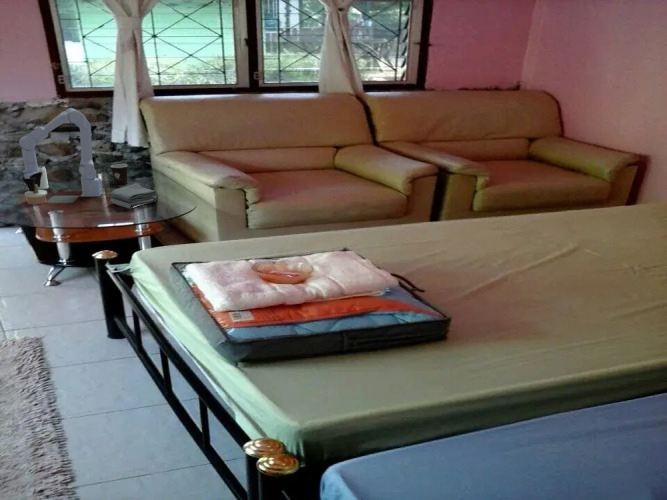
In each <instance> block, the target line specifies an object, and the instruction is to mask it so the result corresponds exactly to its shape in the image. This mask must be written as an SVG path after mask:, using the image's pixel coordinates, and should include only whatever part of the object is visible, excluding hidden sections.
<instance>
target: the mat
mask: <svg viewBox="0 0 667 500" xmlns="http://www.w3.org/2000/svg"><path fill="white" fill-rule="evenodd" d="M79 197H80V195H52V196H51V197H50V198H49V199H48V200H46V202H45V204H73V203H74V202H75V201H76V200H77V199H79Z"/></svg>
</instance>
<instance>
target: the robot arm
mask: <svg viewBox="0 0 667 500" xmlns="http://www.w3.org/2000/svg"><path fill="white" fill-rule="evenodd" d="M71 123H73V125H74V124H75V125H76V126H77V127H78V128H79V131H80V132H79V137H80V139H79V140H80V158H81V159H80V161H79V162H80V163H79V166H78V173H79V174H80V175H81V176H80V182H81V188H82V189H81V190H82V194H80V197H100V196H101V195H102V194H103V193H104V191H103V182H102V179H101V178H100V177H97V170H96V168H95V164H94V161H93V149H92V146H93V145H92V126H91V123H90V122H89V121H88V119H87V117H86V116H85V114H84V113H82V112H81V111H79V110H76V109H75V108H73V107H69V108H67V109H65V110H63V111H62V112H61V113H59V114H58V115H57V116H55V117H54V118H52V120H50V121H49V122H48V123H46V124H45V125H44V126H38V127H37V126H36V127H34V130H32V131H31V132H29V133H26V134H25V135H24V136H22V137H21V138H20V139H19V142H18V144H19V146H20V147H21V152H22V153H21V154H22V160H23V166H24V170H22V173H24V174H23V177H22V181H23V182H24V183H25V185H26V187H27V189H28V191H30V192H34V191H35V184H37V185H38V187H40V183H41V176H42V174H43V173H42V172H39V171H40V169H39V167H38V165H39V164H38V161H37V154H36V150H35V149H36V148H35V147H36V145H38V144H40V143H41V142H42V141H43V140H45V139H46V138H48V137H49V133H50V132H51V131H53V130H55V129H56V128H58V127H59V126H60V125H62V124H71Z"/></svg>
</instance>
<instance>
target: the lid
mask: <svg viewBox="0 0 667 500" xmlns="http://www.w3.org/2000/svg"><path fill="white" fill-rule="evenodd" d="M45 195H46V196H47V195H48V191H47V190H46V189H38V185H37V184H35V191H34V192H30V191H29V190H28V191H25V192H24V197H25V198H26V197H29V198H37V197H43V196H45Z"/></svg>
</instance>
